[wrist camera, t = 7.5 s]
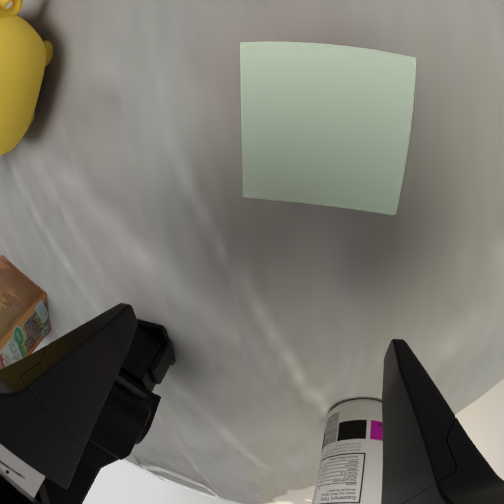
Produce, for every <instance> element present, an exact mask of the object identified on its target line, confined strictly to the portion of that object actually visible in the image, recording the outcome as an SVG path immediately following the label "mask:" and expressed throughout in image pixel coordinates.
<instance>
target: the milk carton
mask: <svg viewBox="0 0 504 504" xmlns="http://www.w3.org/2000/svg"><path fill="white" fill-rule="evenodd" d="M50 330H51V328H50V321H49V313H48V304H47V294H46V292H45V291H43V290H42V289H41V288H40V287H38V286H37V285H36V284H35V283H34V282H32V281H31V280H30V279H29V278H28V277H27V276H25V275H24V274H23V273H22V272H21V271H20V270H18V269H17V268H16V267H15V266H14V265H13V264H12V263H11V262H10V261H8V260H7V259H6V258H5V257H4V256H3V255H2V256H0V369H2V368H4V367H6V366H8V365H10V364H12V363H15V362H17V361H19V360H21V359H23V358H25V357H27V356H29V355H31V354H32V352H33V351H34V350H35V349H36V347H37V346H38V345H39V344H40V342H41V341H42V340H43V339H44V338H45V336H46V335H47V334H48V333H49V331H50Z"/></svg>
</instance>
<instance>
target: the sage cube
mask: <svg viewBox="0 0 504 504" xmlns="http://www.w3.org/2000/svg"><path fill="white" fill-rule="evenodd" d="M240 67H241V134H242V186H243V197H245V198H256V199H267V200H277V201H287V202H296V203H305V204H314V205H322V206H330V207H338V208H346V209H353V210H361V211H368V212H375V213H382V214H389V215H395V216H396V212H397V208H398V203H399V198H400V193H401V188H402V182H403V177H404V171H405V165H406V158H407V152H408V145H409V138H410V130H411V121H412V112H413V102H414V90H415V75H416V58H414V57H409V56H405V55H400V54H395V53H390V52H384V51H378V50H372V49H365V48H358V47H350V46H342V45H332V44H319V43H303V42H241V43H240Z"/></svg>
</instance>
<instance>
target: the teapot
mask: <svg viewBox="0 0 504 504" xmlns="http://www.w3.org/2000/svg"><path fill="white" fill-rule="evenodd" d="M10 1H12V4H11V6H10V7H9V8H7V9H5V7H6V5H7V4H8V3H9V2H10ZM22 3H23V0H0V155H3V154H5V153H7V152H9V151H11V150H12V149H13V148H14V147H15V146H16V145H17V144H18V143H19V142H20V140H21V139H22V137H23V136H24V134H25V133H26V131H27V129H28V128H29V125H30V124H31V123H32V122H33V120H34V117H35V107H36V103H37V100H38V96H39V92H40V88H41V84H42V80H43V75H44V70H45V67H46V66H47V65H48V64H49V63H50V61H51V59H52V56H53V46H52V43H51V42H50V41H44V42H43V41H42V39H41V37H40V36H39V34H38V33H37V32H36V31H35V30H34V28H33V27H32V26H31V25H30V24H28V23H27V22H26V21H25V20H24V19H22V18H21V17H19V16H17V14H18V13H19V11H20V10H21V7H22Z"/></svg>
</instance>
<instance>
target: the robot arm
mask: <svg viewBox="0 0 504 504" xmlns="http://www.w3.org/2000/svg"><path fill="white" fill-rule="evenodd" d="M174 363H175V359H174V356H173V353H172V350H171V347H170V344H169V341H168V338H167V335H166V332H165V329H164V328H163V327H162V326H159V325H154V324H150V323H146V322H142V321H138V320H137V319H136V316H135V313H134V311H133V308H132V306H131V305H129V304H124V303H120V304H118V305H116V306H115V307H113V308H111V309H109V310H108V311H106V312H104V313H102V314H101V315H99V316H97V317H95V318H93V319H92V320H90V321H88V322H86V323H85V324H83V325H81V326H79V327H78V328H76V329H74V330H72V331H71V332H69V333H67V334H65V335H64V336H62V337H60V338H59V339H57V340H55V341H53V342H52V343H50V344H48V346H45V347H43V348H41V349H40V350H38V351H36V352H34V353H32V354H31V355H29V356H27V357H25V358H23V359H21V360H19V361H17V362H15V363H12V364H10V365H8V366H6V367H4V368H2V369H0V504H82V503H83V501H84V499H85V497H86V495H87V493H88V491H89V489H90V488H91V486H92V484H93V482H94V480H95V478H96V476H97V474H98V473H99V471H100V469H101V468H102V467H104V466H106V465H108V464H110V463H113V462H115V461H116V460H119V459H120V460H122V459H124V458H125V457H127V456H129V455H130V453H131V451H132V449H133V447H134V445H135V444H139V443H140V442H141V441H142V440H143V439H144V437H145V436H146V434H147V433H148V431H149V429H150V427H151V424H152V422H153V419H154V416H155V413H156V410H157V407H158V404H159V402H160V399H161V397H160V396H159V395H157V394H154V393H153V392H152V391H153V389H154V387H155V385H156V384H160V383H161V382H162V380H163V378H164V376H165V374H166V372H167V370H168V368H169V366H170V365H174ZM382 426H383V471H382V496H381V504H504V481H503V480H502V479H501V478H500V477H499V476H498V475H497V474H496V473H495V472H494V471H493V469H492V468H491V467H490V465H489V464H488V462H487V461H486V460H485V458H484V457H483V456H482V454H481V453H480V452H479V451H478V449H477V448H476V446H475V445H474V444H473V442H472V441H471V439H470V438H469V437H468V435H467V434H466V432H465V430H464V429H463V427H462V426H461V424H460V423H459V421H458V419H457V418H455V415H454V413H453V412H452V410H451V408H450V407H449V405H448V404H447V402H446V401H445V399H444V397H443V396H442V394H441V393H440V391H439V390H438V388H437V387H436V385H435V384H434V382H433V381H432V379H431V378H430V376H429V375H428V373H427V372H426V370H425V369H424V367H423V366H422V364H421V363H420V362H419V360H418V359H417V357H416V356H415V354H414V353H413V352H412V350H411V349H410V347H409V346H408V344H407V343H406V342H405V341H404V340H402V339H393V340H391V342H390V345H389V347H388V350H387V352H386V355H385V358H384V374H383V392H382Z"/></svg>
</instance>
